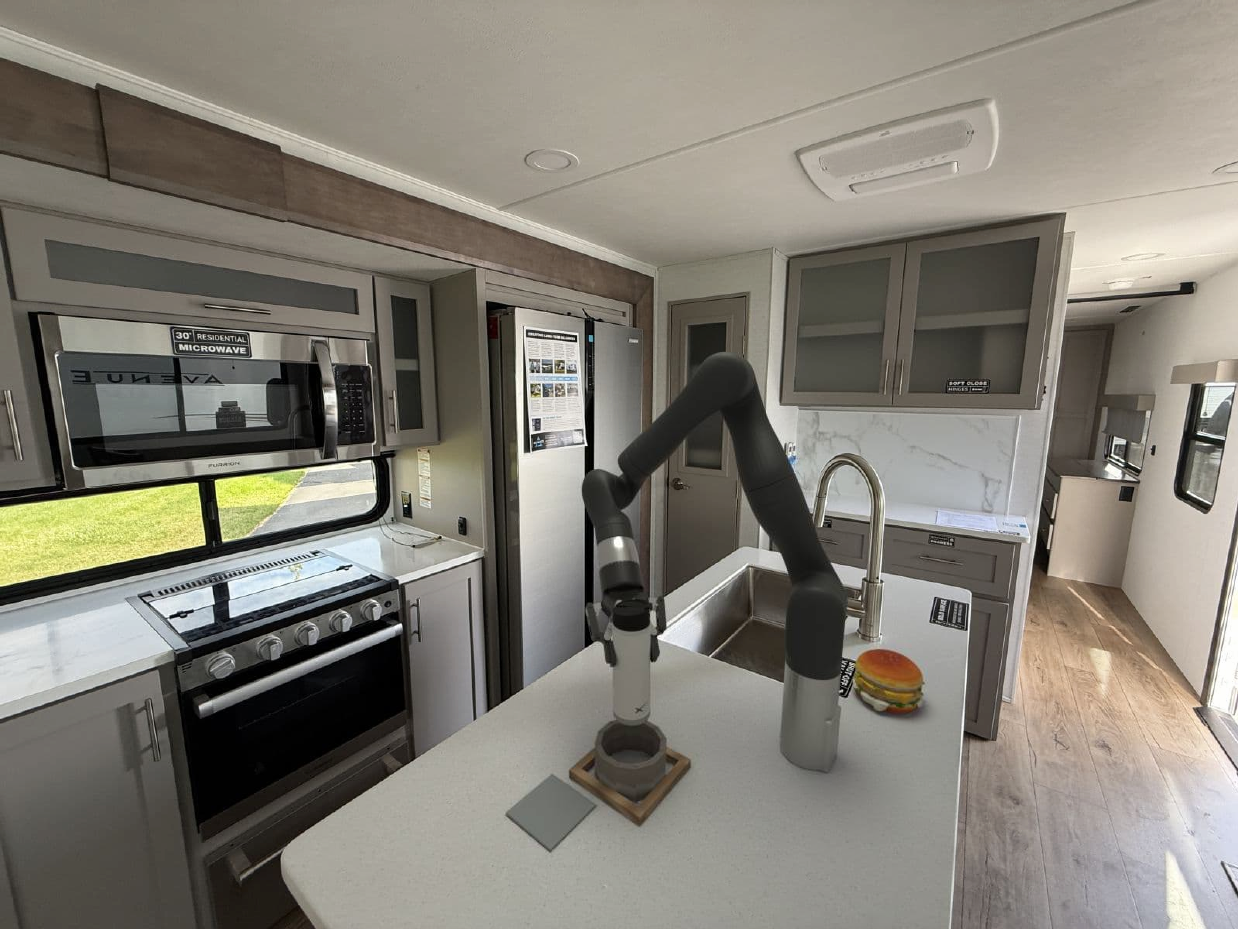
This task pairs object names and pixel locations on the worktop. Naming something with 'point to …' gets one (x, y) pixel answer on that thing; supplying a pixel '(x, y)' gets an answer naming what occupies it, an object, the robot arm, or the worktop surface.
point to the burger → (888, 681)
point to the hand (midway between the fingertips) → (633, 663)
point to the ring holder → (630, 769)
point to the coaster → (551, 811)
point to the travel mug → (631, 661)
